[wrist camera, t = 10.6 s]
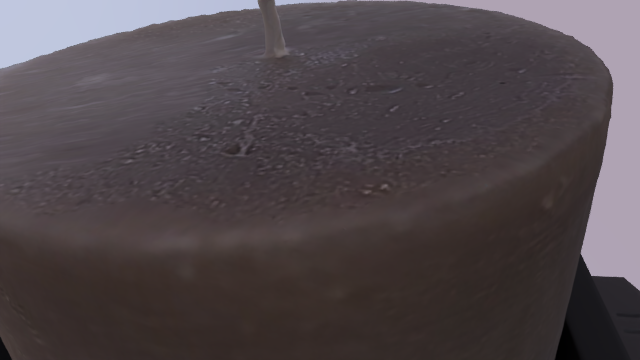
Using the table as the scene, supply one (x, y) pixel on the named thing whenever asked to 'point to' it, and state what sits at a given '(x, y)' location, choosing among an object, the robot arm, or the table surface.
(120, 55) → the pillar candle
